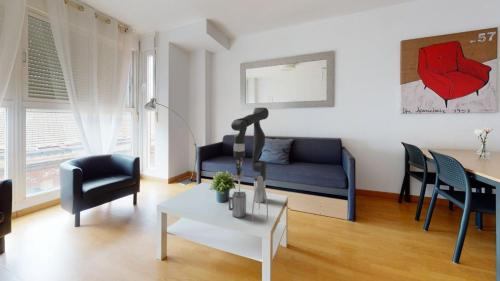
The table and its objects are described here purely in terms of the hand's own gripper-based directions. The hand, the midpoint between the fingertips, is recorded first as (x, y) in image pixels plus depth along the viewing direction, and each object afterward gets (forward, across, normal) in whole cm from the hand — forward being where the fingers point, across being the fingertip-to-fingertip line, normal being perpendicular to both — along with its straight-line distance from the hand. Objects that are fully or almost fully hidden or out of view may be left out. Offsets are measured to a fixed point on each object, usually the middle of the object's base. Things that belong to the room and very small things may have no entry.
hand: (239, 173), depth 139 cm
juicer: (+30, +3, +14) cm, 33 cm away
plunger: (+18, 0, 0) cm, 18 cm away
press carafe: (+30, 0, -1) cm, 30 cm away
